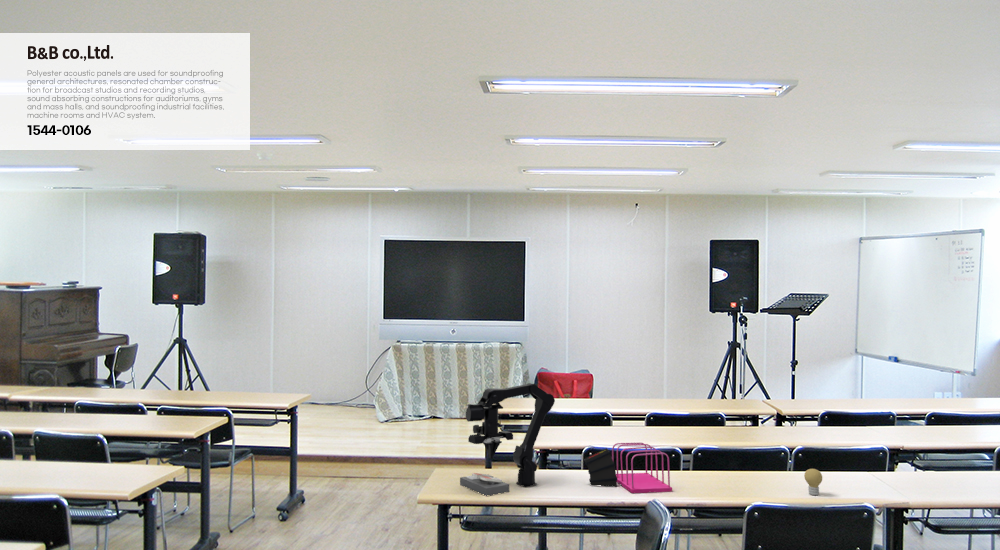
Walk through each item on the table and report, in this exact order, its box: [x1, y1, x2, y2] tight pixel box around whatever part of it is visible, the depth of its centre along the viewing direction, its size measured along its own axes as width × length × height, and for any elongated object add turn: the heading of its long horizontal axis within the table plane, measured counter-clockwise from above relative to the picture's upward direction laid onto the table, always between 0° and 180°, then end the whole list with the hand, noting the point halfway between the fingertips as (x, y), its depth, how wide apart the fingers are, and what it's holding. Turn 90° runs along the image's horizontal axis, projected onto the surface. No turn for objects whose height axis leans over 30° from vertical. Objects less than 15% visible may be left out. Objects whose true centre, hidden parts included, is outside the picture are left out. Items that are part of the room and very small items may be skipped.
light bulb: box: [804, 468, 823, 496], centre depth 246 cm, size 6×6×10 cm
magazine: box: [583, 447, 618, 487], centre depth 259 cm, size 4×13×15 cm, turn 85°
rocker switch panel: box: [459, 475, 510, 497], centre depth 254 cm, size 11×20×4 cm, turn 34°
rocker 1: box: [471, 472, 494, 478], centre depth 255 cm, size 8×4×1 cm, turn 123°
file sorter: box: [611, 442, 673, 494], centre depth 261 cm, size 17×25×16 cm
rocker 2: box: [480, 476, 503, 482], centre depth 250 cm, size 8×4×1 cm, turn 123°
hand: (490, 458), depth 254 cm, fingers closed
